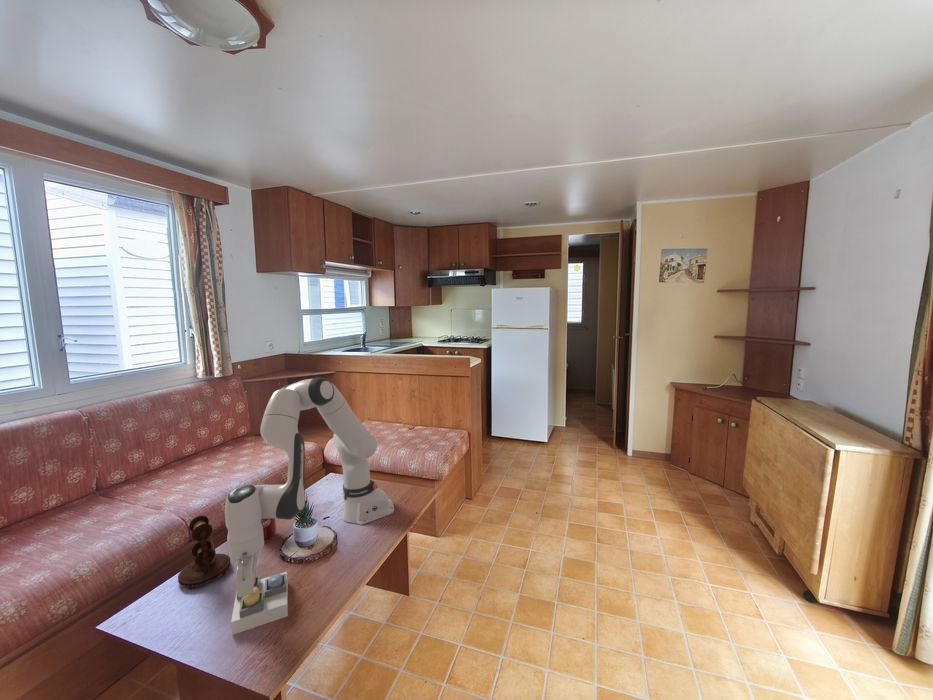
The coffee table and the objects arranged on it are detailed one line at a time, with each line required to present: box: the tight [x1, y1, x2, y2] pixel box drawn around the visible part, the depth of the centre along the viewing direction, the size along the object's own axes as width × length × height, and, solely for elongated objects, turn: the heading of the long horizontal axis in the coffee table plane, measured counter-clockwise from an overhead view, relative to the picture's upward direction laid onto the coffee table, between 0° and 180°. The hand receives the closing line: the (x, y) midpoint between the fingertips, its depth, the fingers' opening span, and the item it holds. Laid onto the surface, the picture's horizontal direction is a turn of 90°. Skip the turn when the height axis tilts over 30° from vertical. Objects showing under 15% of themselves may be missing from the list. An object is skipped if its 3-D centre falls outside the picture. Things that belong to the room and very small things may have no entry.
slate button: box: [268, 573, 283, 590], centre depth 115 cm, size 4×4×3 cm
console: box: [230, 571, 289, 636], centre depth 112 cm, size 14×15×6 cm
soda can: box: [261, 518, 278, 543], centre depth 147 cm, size 7×7×12 cm
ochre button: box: [243, 587, 260, 607], centre depth 107 cm, size 4×4×3 cm
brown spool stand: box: [177, 515, 232, 590], centre depth 126 cm, size 15×15×20 cm
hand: (250, 588), depth 107 cm, fingers closed
